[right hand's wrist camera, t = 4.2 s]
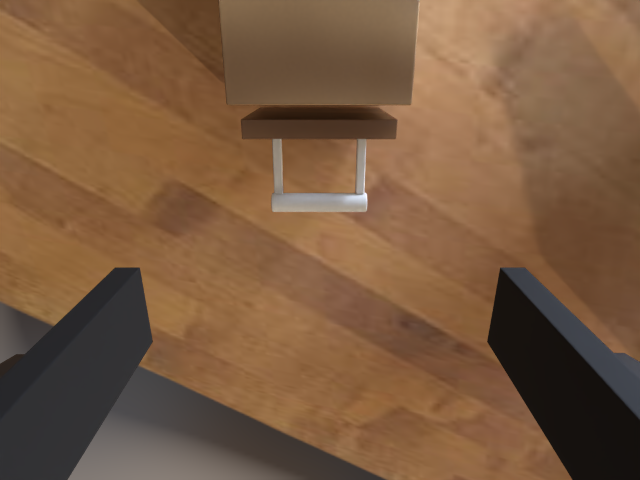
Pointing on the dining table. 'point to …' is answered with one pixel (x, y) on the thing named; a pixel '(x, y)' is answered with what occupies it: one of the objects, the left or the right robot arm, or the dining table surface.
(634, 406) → the right robot arm
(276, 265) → the dining table surface
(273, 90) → the cabinet
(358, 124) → the drawer
